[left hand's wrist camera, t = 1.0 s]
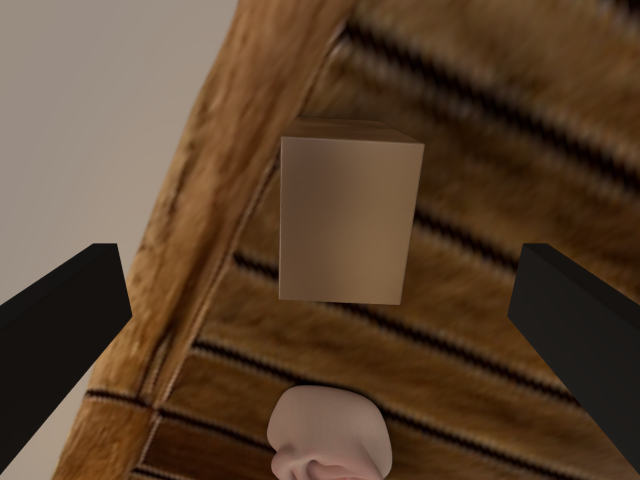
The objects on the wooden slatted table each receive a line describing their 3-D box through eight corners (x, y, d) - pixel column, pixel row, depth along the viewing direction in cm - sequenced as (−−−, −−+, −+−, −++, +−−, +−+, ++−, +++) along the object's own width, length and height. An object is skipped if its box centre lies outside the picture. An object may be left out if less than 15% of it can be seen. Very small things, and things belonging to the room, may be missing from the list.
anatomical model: (251, 425, 29) (400, 415, 29) (259, 387, 33) (391, 378, 32) (273, 533, 34) (400, 526, 34) (277, 490, 37) (392, 483, 37)
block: (379, 120, 25) (425, 143, 14) (368, 223, 27) (400, 305, 17) (296, 116, 24) (281, 135, 14) (293, 219, 27) (278, 300, 17)
